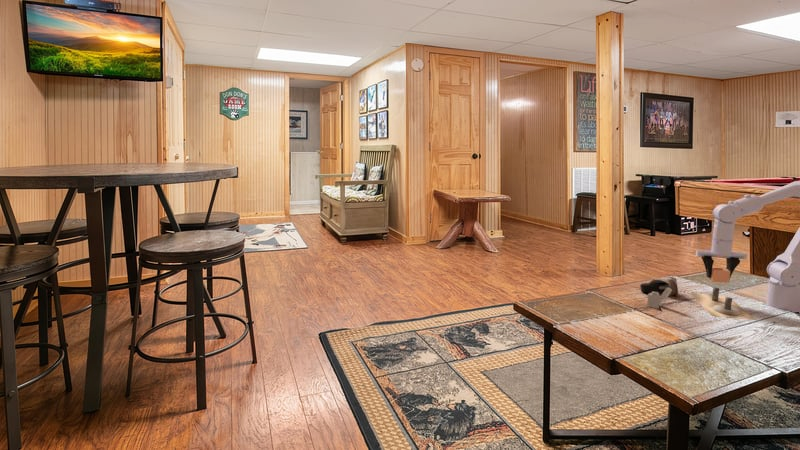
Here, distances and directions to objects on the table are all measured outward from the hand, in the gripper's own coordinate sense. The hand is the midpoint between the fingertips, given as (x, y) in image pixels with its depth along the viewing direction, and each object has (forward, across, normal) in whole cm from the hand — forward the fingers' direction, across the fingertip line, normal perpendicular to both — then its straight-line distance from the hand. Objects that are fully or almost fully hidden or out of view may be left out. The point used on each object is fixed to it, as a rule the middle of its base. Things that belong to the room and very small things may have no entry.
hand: (718, 277), depth 155 cm
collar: (+1, 0, 0) cm, 1 cm away
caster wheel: (+10, +17, -6) cm, 20 cm away
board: (+9, 0, +4) cm, 10 cm away
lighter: (+10, +20, +10) cm, 24 cm away
